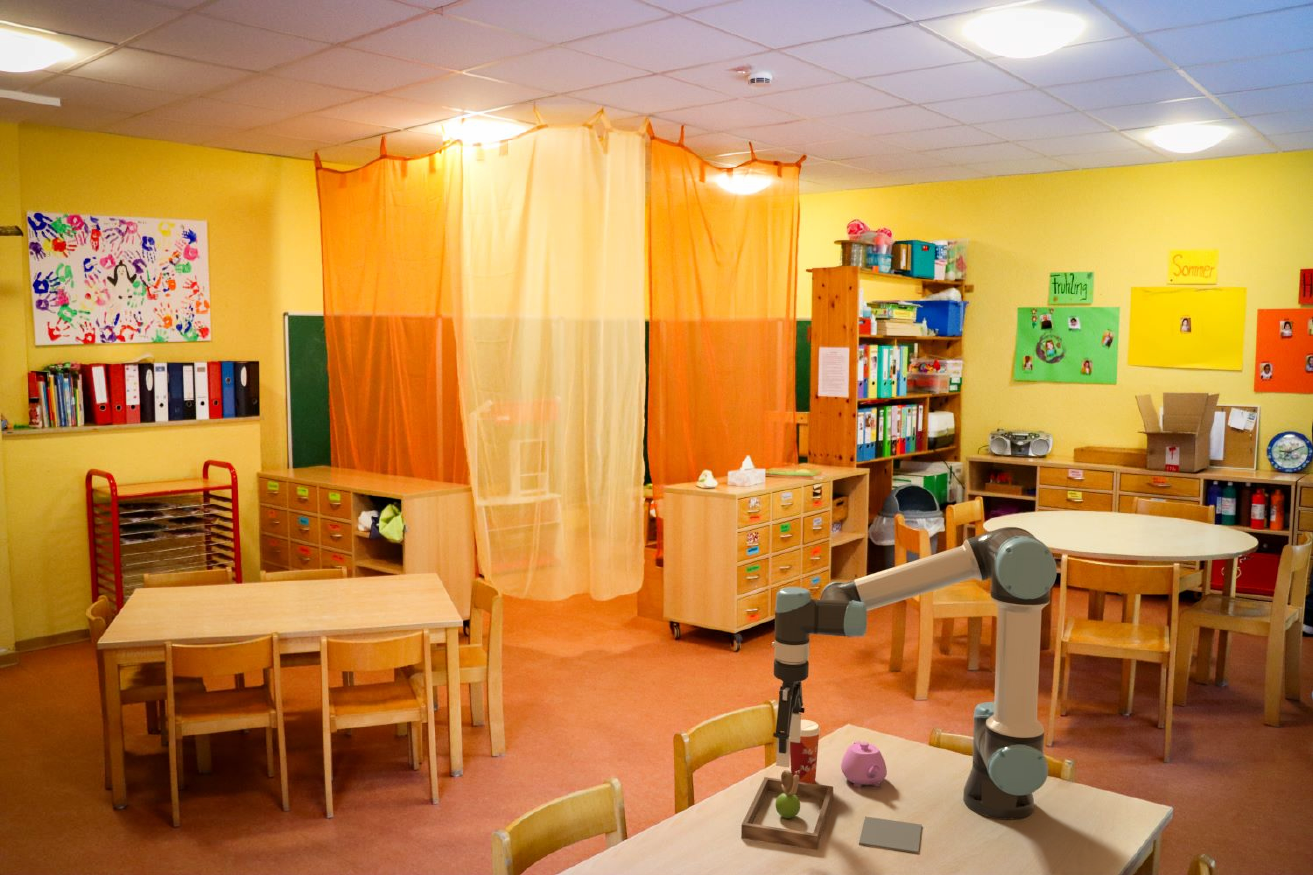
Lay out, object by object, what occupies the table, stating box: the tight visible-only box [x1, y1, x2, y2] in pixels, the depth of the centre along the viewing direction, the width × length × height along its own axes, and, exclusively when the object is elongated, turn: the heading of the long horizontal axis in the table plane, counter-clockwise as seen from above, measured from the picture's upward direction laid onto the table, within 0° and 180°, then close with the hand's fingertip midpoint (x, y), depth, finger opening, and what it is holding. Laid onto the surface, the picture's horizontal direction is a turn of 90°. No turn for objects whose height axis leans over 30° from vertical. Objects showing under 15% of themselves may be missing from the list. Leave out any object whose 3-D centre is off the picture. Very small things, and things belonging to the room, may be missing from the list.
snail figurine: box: [775, 770, 801, 819], centre depth 219 cm, size 5×6×12 cm
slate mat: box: [858, 816, 922, 854], centre depth 212 cm, size 12×12×1 cm
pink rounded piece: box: [840, 740, 888, 788], centre depth 237 cm, size 10×15×9 cm
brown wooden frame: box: [740, 776, 834, 851], centre depth 220 cm, size 16×24×3 cm, turn 162°
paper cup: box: [790, 719, 821, 784], centre depth 237 cm, size 8×8×14 cm
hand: (788, 753), depth 218 cm, fingers open, 13 cm apart
